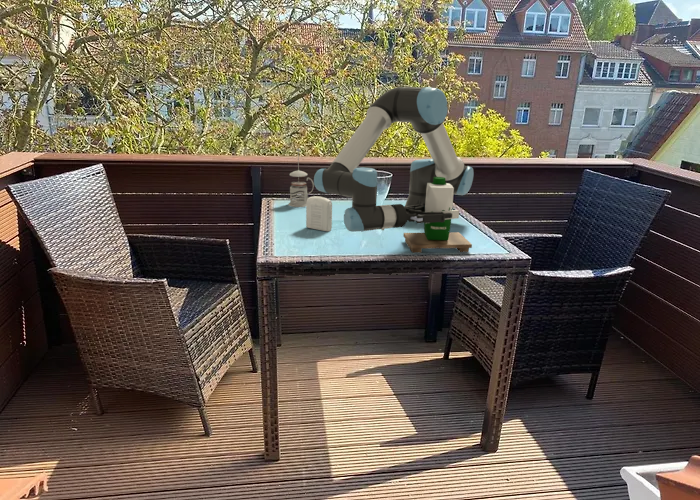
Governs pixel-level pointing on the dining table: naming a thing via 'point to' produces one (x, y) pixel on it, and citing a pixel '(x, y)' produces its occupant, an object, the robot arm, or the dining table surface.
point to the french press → (299, 188)
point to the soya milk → (438, 208)
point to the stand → (436, 242)
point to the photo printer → (319, 213)
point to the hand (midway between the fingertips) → (450, 210)
